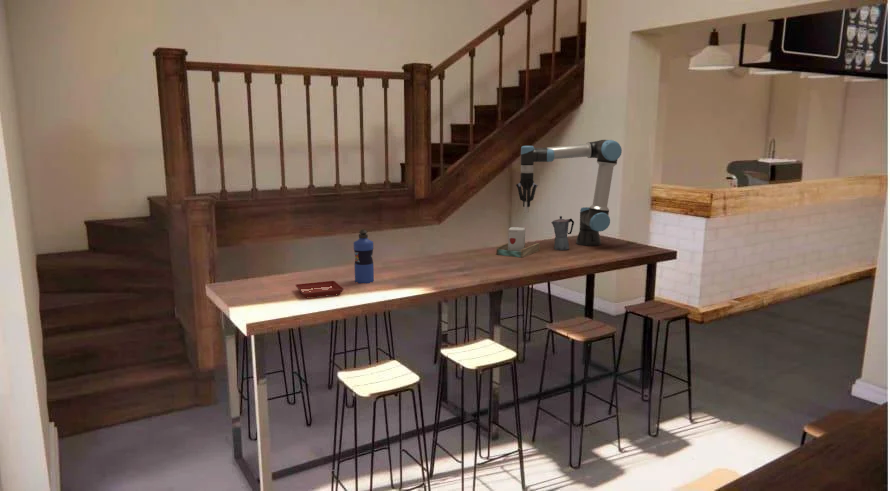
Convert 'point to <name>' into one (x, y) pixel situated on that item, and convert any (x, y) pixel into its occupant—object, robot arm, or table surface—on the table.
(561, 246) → the moka pot
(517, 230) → the supplement box
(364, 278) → the water bottle
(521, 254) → the tray
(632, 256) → the table surface
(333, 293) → the plant saucer
